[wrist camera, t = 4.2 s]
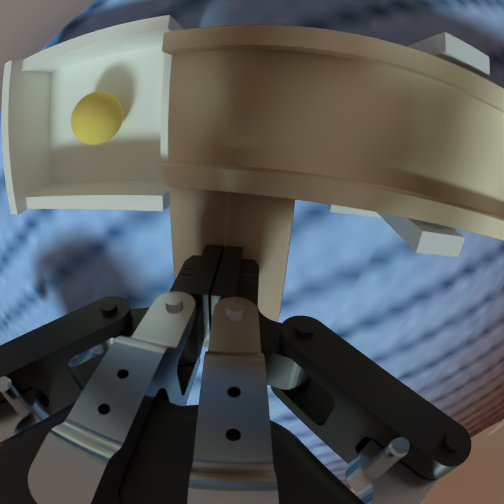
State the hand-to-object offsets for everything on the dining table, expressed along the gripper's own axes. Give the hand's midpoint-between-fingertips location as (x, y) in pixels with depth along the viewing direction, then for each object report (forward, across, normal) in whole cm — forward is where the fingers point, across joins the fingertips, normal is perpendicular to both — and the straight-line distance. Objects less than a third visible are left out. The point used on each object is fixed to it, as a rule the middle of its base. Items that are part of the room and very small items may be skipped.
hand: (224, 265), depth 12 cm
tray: (+6, +9, -6) cm, 13 cm away
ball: (+3, +7, -6) cm, 10 cm away
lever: (0, -9, -3) cm, 9 cm away
